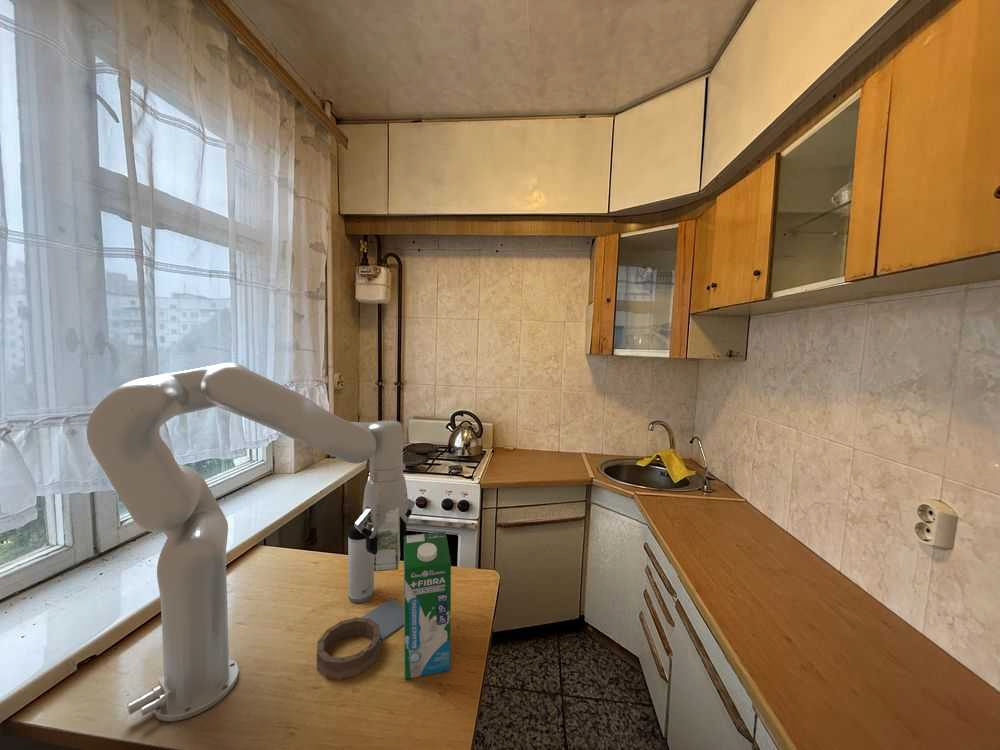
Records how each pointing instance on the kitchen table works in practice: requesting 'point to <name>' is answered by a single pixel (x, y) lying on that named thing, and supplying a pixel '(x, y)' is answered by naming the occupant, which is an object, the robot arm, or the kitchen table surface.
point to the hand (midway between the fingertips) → (387, 544)
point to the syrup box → (388, 543)
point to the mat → (387, 617)
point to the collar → (353, 663)
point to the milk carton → (427, 604)
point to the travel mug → (359, 566)
